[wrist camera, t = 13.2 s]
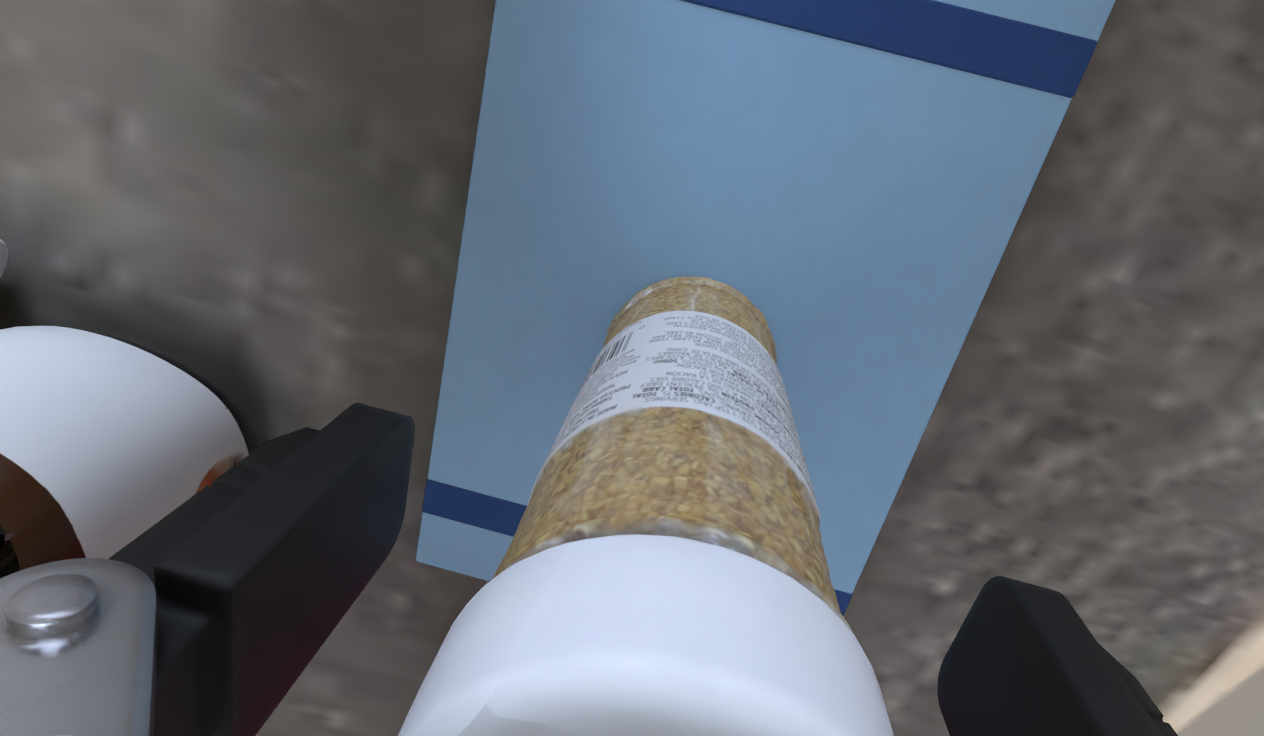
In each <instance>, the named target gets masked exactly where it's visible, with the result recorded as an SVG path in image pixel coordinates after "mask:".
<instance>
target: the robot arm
mask: <svg viewBox="0 0 1264 736" xmlns="http://www.w3.org/2000/svg"><path fill="white" fill-rule="evenodd" d="M413 441H414V422H413V419H412V418H411V417H410V416H406V415H402V414H398V413H395V412H391V411H387V410H383V409H380V408H376V407H372V406H368V405H365V404H361V403H355V404H353V405H351V406H350V407H349V408H348V409H346V410H345V411H344V412H343V413H341V414H340V415H339V416H338V417H336V418H335V419H334V420H333V421H332V422H330V423H329V424H328V425H327V426H325V427H324V428H323V429H322V430H320V431H319V430H315V429H311V428H308V427H305V428H303V429H300V430H297V431H294V432H291V433H289V434H286V435H283V436H280V437H277V438H275V439H272V440H269V441H267V442H265V443H264V444H263V445H261V446H260V447H259V448H257V449H256V450H255V451H253V452H252V453H250V454H249V455H248V456H246V457H245V458H244V459H242V460H241V461H240V462H238V465H237V467H236V468H234V467H232V468H230V469H229V470H227V471H226V472H225V473H223V474H222V475H221V476H219V477H218V478H217V479H215V480H214V481H213V484H212V486H211V487H209V486H206V487H204V488H203V489H202V490H200V491H199V492H198V493H196V494H195V495H194V496H192V497H191V498H190V499H188V500H187V501H186V502H184V503H183V504H182V505H180V506H179V507H177V508H176V509H175V510H173V511H172V512H171V513H169V514H168V515H167V516H165V517H164V518H163V519H161V520H160V521H159V522H157V523H156V524H154V525H153V526H152V527H150V528H149V529H148V530H146V531H145V532H144V533H142V534H141V535H140V536H138V537H137V538H136V539H134V540H133V541H131V542H130V543H129V544H127V545H126V546H125V547H123V548H122V549H121V550H119V551H118V552H117V553H115V554H114V555H113V556H111V557H110V558H109V559H101V558H78V559H67V560H61V561H55V562H49V563H45V564H41V565H37V566H33V567H30V568H27V569H24V570H21V571H18V572H15V573H12V574H10V575H8V576H5V577H3V578H1V579H0V736H255V735H256V734H257V733H258V731H259V730H260V728H261V727H262V726H263V724H264V723H265V722H266V720H267V719H268V718H269V716H270V715H271V714H272V712H273V711H274V709H275V708H276V707H277V705H278V704H279V703H280V701H281V700H282V699H283V697H284V696H285V695H286V693H287V692H288V691H289V689H290V688H291V686H292V685H293V684H294V682H295V681H296V680H297V678H298V677H299V676H300V674H301V673H302V672H303V670H304V669H305V667H306V666H307V665H308V663H309V662H310V661H311V659H312V658H313V657H314V655H315V654H316V653H317V651H318V650H319V649H320V647H321V646H322V644H323V643H324V642H325V640H326V639H327V638H328V636H329V635H330V634H331V632H332V631H333V630H334V628H335V627H336V625H337V624H338V623H339V621H340V620H341V619H342V617H343V616H344V615H345V613H346V612H347V611H348V609H349V608H350V606H351V605H352V604H353V602H354V601H355V600H356V598H357V597H358V596H359V594H360V593H361V592H362V590H363V589H364V588H365V586H366V585H367V583H368V582H369V581H370V579H371V578H372V577H373V575H374V574H375V573H376V571H377V570H378V569H379V567H380V566H381V564H382V563H383V562H384V560H385V559H386V558H387V556H388V555H389V553H390V551H391V550H392V548H393V546H394V544H395V542H396V539H397V537H398V534H399V532H400V529H401V526H402V522H403V518H404V513H405V507H406V498H407V490H408V482H409V474H410V465H411V457H412V449H413ZM938 700H939V705H940V709H941V712H942V715H943V718H944V720H945V723H946V726H947V729H948V731H949V734H950V736H1178V735H1177V734H1176V732H1175V731H1174V730H1173V728H1172V727H1171V726H1170V724H1169V723H1165V722H1163V720H1162V718H1163V715H1162V713H1161V712H1160V711H1159V709H1158V708H1157V706H1156V705H1155V704H1154V702H1153V701H1152V700H1151V698H1150V697H1149V695H1148V694H1147V693H1146V691H1145V690H1144V689H1143V687H1142V686H1141V684H1140V683H1139V682H1138V680H1137V679H1136V678H1135V677H1134V676H1133V675H1132V674H1131V673H1130V672H1129V671H1128V670H1127V669H1126V668H1125V667H1123V666H1122V665H1121V664H1120V663H1119V662H1118V661H1117V660H1116V659H1115V658H1114V657H1113V656H1112V655H1110V654H1109V653H1108V652H1107V651H1106V650H1105V649H1104V648H1103V647H1102V646H1101V645H1100V644H1099V643H1097V641H1096V640H1095V638H1094V637H1093V635H1092V634H1091V633H1090V631H1089V630H1088V628H1087V627H1086V626H1085V624H1084V623H1083V621H1082V620H1081V618H1080V617H1079V616H1078V614H1077V613H1076V611H1075V610H1074V609H1073V607H1072V606H1071V604H1070V603H1069V601H1068V600H1067V599H1066V598H1065V597H1064V596H1063V595H1062V594H1061V593H1059V592H1057V591H1055V590H1051V589H1047V588H1043V587H1040V586H1036V585H1032V584H1028V583H1025V582H1021V581H1017V580H1013V579H1010V578H1006V577H1002V576H996V577H993V578H991V579H990V580H989V581H987V583H986V584H985V585H984V586H983V588H982V590H981V591H980V593H979V595H978V597H977V599H976V600H975V602H974V604H973V606H972V608H971V610H970V611H969V613H968V615H967V617H966V619H965V621H964V623H963V624H962V626H961V628H960V630H959V632H958V634H957V635H956V637H955V639H954V641H953V643H952V645H951V646H950V648H949V650H948V652H947V654H946V656H945V658H944V660H943V662H942V665H941V668H940V672H939V678H938Z"/></svg>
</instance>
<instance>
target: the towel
mask: <svg viewBox="0 0 1264 736" xmlns="http://www.w3.org/2000/svg"><path fill="white" fill-rule="evenodd" d="M1114 3H1115V0H496V3H495V10H494V17H493V24H492V31H491V38H490V45H489V52H488V59H487V66H486V73H485V80H484V87H483V94H482V101H481V108H480V115H479V122H478V129H477V136H476V143H475V150H474V157H473V164H472V171H471V178H470V185H469V192H468V199H467V206H466V213H465V220H464V227H463V234H462V241H461V248H460V255H459V262H458V269H457V275H456V282H455V289H454V296H453V303H452V310H451V317H450V324H449V331H448V338H447V345H446V352H445V359H444V366H443V373H442V380H441V387H440V394H439V401H438V408H437V415H436V422H435V429H434V436H433V443H432V450H431V457H430V464H429V471H428V478H427V481H426V488H425V495H424V502H423V509H422V512H423V513H422V520H421V527H420V534H419V541H418V548H417V555H416V561H417V562H420V563H424V564H428V565H431V566H435V567H439V568H442V569H446V570H450V571H453V572H457V573H461V574H464V575H468V576H472V577H475V578H479V579H483V580H486V581H491V580H492V579H493V578H494V575H495V573H496V571H497V569H498V567H499V565H500V563H501V561H502V559H503V558H504V556H505V555H506V552H507V550H508V548H509V546H510V544H511V542H512V540H513V537H514V535H515V533H516V530H517V528H518V525H519V523H520V521H521V518H522V516H523V514H524V512H525V510H526V508H527V506H528V502H529V498H530V495H531V491H532V488H533V486H534V483H535V481H536V478H537V476H538V474H539V472H540V470H541V468H542V466H543V464H544V462H545V460H546V458H547V456H548V454H549V452H550V450H551V448H552V446H553V444H554V442H555V440H556V438H557V436H558V434H559V432H560V429H561V427H562V425H563V423H564V421H565V419H566V417H567V415H568V413H569V411H570V409H571V407H572V405H573V403H574V401H575V399H576V397H577V395H578V393H579V391H580V389H581V387H582V385H583V383H584V381H585V379H586V377H587V375H588V373H589V371H590V369H591V367H592V365H593V363H594V361H595V359H596V357H597V356H598V355H599V353H600V352H601V350H602V349H603V345H604V342H605V339H606V337H607V333H608V329H609V326H610V324H611V323H612V320H613V319H614V317H615V316H616V315H617V314H618V313H619V311H620V310H621V308H622V307H623V306H624V304H625V303H626V302H628V301H629V300H631V298H632V297H633V296H634V295H635V294H636V293H638V292H639V291H640V290H642V289H644V288H646V287H648V286H649V285H652V284H655V283H658V282H660V281H662V280H665V279H670V278H676V277H683V276H691V277H707V278H710V279H713V280H716V281H719V282H722V283H725V284H728V285H730V286H731V287H733V288H734V289H736V290H737V291H739V292H740V293H742V294H743V295H745V296H746V297H747V298H748V299H749V300H750V301H751V302H752V304H753V305H755V306H756V307H757V308H758V309H759V310H760V311H761V312H762V313H763V315H764V317H765V319H766V322H767V324H768V327H769V329H770V332H771V334H772V336H773V339H774V343H775V347H776V357H777V365H776V366H777V368H778V370H779V372H780V375H781V377H782V380H783V383H784V386H785V390H786V393H787V397H788V400H789V404H790V407H791V411H792V414H793V418H794V422H795V425H796V429H797V433H798V437H799V440H800V444H801V448H802V451H803V455H804V459H805V462H806V465H807V469H808V472H809V476H810V479H811V483H812V486H813V490H814V494H815V497H816V501H817V505H818V509H819V512H820V526H819V530H820V534H821V540H822V545H823V548H824V554H825V557H826V560H827V565H828V568H829V574H830V580H831V583H832V586H833V588H834V591H835V593H836V597H837V602H838V605H839V608H840V612H841V614H842V616H843V615H844V613H845V610H846V608H847V606H848V604H849V601H850V599H851V597H852V593H853V590H854V588H855V586H856V584H857V581H858V579H859V577H860V575H861V572H862V570H863V568H864V566H865V563H866V561H867V559H868V557H869V554H870V552H871V550H872V548H873V545H874V543H875V541H876V539H877V536H878V534H879V532H880V530H881V527H882V525H883V523H884V521H885V518H886V516H887V514H888V512H889V509H890V507H891V505H892V503H893V500H894V498H895V496H896V494H897V491H898V489H899V487H900V485H901V482H902V480H903V478H904V476H905V473H906V471H907V469H908V467H909V464H910V462H911V460H912V458H913V455H914V453H915V451H916V449H917V446H918V444H919V442H920V440H921V437H922V435H923V433H924V431H925V428H926V426H927V424H928V422H929V419H930V417H931V415H932V412H933V410H934V408H935V406H936V403H937V401H938V399H939V397H940V394H941V392H942V390H943V388H944V385H945V383H946V381H947V379H948V376H949V374H950V372H951V370H952V367H953V365H954V363H955V361H956V358H957V356H958V354H959V352H960V349H961V347H962V345H963V343H964V340H965V338H966V336H967V334H968V331H969V329H970V327H971V325H972V322H973V320H974V318H975V316H976V313H977V311H978V309H979V307H980V304H981V302H982V300H983V298H984V295H985V293H986V291H987V289H988V286H989V284H990V282H991V280H992V277H993V275H994V273H995V271H996V268H997V266H998V264H999V262H1000V259H1001V257H1002V255H1003V253H1004V250H1005V248H1006V246H1007V244H1008V241H1009V239H1010V237H1011V235H1012V232H1013V230H1014V228H1015V226H1016V223H1017V221H1018V219H1019V217H1020V214H1021V212H1022V210H1023V208H1024V205H1025V203H1026V201H1027V199H1028V196H1029V194H1030V192H1031V190H1032V187H1033V185H1034V183H1035V181H1036V178H1037V176H1038V174H1039V172H1040V169H1041V167H1042V165H1043V163H1044V160H1045V158H1046V156H1047V154H1048V151H1049V149H1050V147H1051V145H1052V142H1053V140H1054V138H1055V136H1056V133H1057V131H1058V129H1059V127H1060V124H1061V122H1062V120H1063V118H1064V115H1065V113H1066V111H1067V109H1068V106H1069V104H1070V102H1071V99H1072V97H1073V96H1074V94H1075V92H1076V90H1077V88H1078V85H1079V83H1080V81H1081V79H1082V76H1083V74H1084V72H1085V70H1086V67H1087V65H1088V63H1089V61H1090V58H1091V56H1092V54H1093V52H1094V49H1095V47H1096V45H1097V41H1098V39H1099V36H1100V34H1101V32H1102V30H1103V27H1104V25H1105V23H1106V21H1107V18H1108V16H1109V14H1110V12H1111V9H1112V7H1113V5H1114Z"/></svg>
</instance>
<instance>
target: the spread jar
mask: <svg viewBox="0 0 1264 736" xmlns="http://www.w3.org/2000/svg"><path fill="white" fill-rule="evenodd" d="M8 257H9V253H8V246H7V245H6V244H5V243H4V241H2V240H0V279H1V276H2V274H3V272H4V270H5V268H6V264H7V261H8ZM257 448H259V447H258V444H257V441H256V439H255V436H254V434H253V431H252V430H251V428H250V426H249V424H248V422H247V420H246V419H245V417H244V416H243V414H242V413H241V411H240V410H239V409H238V407H237V406H236V405H235V404H234V403H233V402H232V400H231V399H230V398H229V397H227V396H226V395H225V394H224V393H223V392H222V391H221V390H220V389H219V388H217V387H216V386H215V385H214V384H213V383H211V382H210V381H209V380H207V379H206V378H204V377H203V376H201V375H200V374H198V373H197V372H195V371H194V370H192V369H190V368H189V367H187V366H185V365H184V364H182V363H180V362H178V361H176V360H174V359H172V358H170V357H168V356H166V355H164V354H161V353H159V352H157V351H154V350H152V349H149V348H147V347H144V346H142V345H139V344H136V343H134V342H131V341H128V340H124V339H121V338H117V337H114V336H109V335H105V334H100V333H95V332H89V331H84V330H78V329H73V328H66V327H59V326H19V327H12V328H6V329H0V579H1V578H3V577H5V576H8V575H10V574H12V573H15V572H18V571H21V570H24V569H27V568H30V567H33V566H37V565H41V564H45V563H49V562H55V561H61V560H67V559H78V558H101V559H109V558H110V557H111V556H113V555H114V554H115V553H117V552H118V551H119V550H121V549H122V548H123V547H125V546H126V545H127V544H129V543H130V542H131V541H133V540H134V539H136V538H137V537H138V536H140V535H141V534H142V533H144V532H145V531H146V530H148V529H149V528H150V527H152V526H153V525H154V524H156V523H157V522H159V521H160V520H161V519H163V518H164V517H165V516H167V515H168V514H169V513H171V512H172V511H173V510H175V509H176V508H177V507H179V506H180V505H182V504H183V503H184V502H186V501H187V500H188V499H190V498H191V497H192V496H194V495H195V494H196V493H198V492H199V491H200V490H202V489H203V488H204V487H206V486H209V487H211V486H212V484H213V481H214V480H215V479H217V478H218V477H219V476H221V475H222V474H223V473H225V472H226V471H227V470H229V469H230V468H232V467H234V468H236V467H237V465H238V462H240V461H241V460H242V459H244V458H245V457H246V456H248V455H249V454H250V453H252V452H253V451H255V450H256V449H257Z"/></svg>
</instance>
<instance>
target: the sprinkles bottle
mask: <svg viewBox="0 0 1264 736" xmlns="http://www.w3.org/2000/svg"><path fill="white" fill-rule="evenodd" d="M776 365H777V357H776V347H775V343H774V339H773V336H772V334H771V332H770V329H769V327H768V324H767V322H766V319H765V317H764V315H763V313H762V312H761V311H760V310H759V309H758V308H757V307H756V306H755V305H753V304H752V302H751V301H750V300H749V299H748V298H747V297H746V296H745V295H743V294H742V293H740V292H739V291H737V290H736V289H734V288H733V287H731V286H730V285H728V284H725V283H722V282H719V281H716V280H713V279H710V278H707V277H691V276H683V277H676V278H670V279H665V280H662V281H660V282H658V283H655V284H652V285H649V286H648V287H646V288H644V289H642V290H640V291H639V292H638V293H636V294H635V295H634V296H633V297H632V298H631V300H629V301H628V302H626V303H625V304H624V306H623V307H622V308H621V310H620V311H619V313H618V314H617V315H616V316H615V317H614V319H613V320H612V323H611V324H610V326H609V329H608V333H607V337H606V339H605V342H604V345H603V349H602V350H601V352H600V353H599V355H598V356H597V357H596V359H595V361H594V363H593V365H592V367H591V369H590V371H589V373H588V375H587V377H586V379H585V381H584V383H583V385H582V387H581V389H580V391H579V393H578V395H577V397H576V399H575V401H574V403H573V405H572V407H571V409H570V411H569V413H568V415H567V417H566V419H565V421H564V423H563V425H562V427H561V429H560V432H559V434H558V436H557V438H556V440H555V442H554V444H553V446H552V448H551V450H550V452H549V454H548V456H547V458H546V460H545V462H544V464H543V466H542V468H541V470H540V472H539V474H538V476H537V478H536V481H535V483H534V486H533V488H532V491H531V495H530V498H529V502H528V506H527V508H526V510H525V512H524V514H523V516H522V518H521V521H520V523H519V525H518V528H517V530H516V533H515V535H514V537H513V540H512V542H511V544H510V546H509V548H508V550H507V552H506V555H505V556H504V558H503V559H502V561H501V563H500V565H499V567H498V569H497V571H496V573H495V575H494V578H493V579H492V580H491V581H490V582H488V583H487V584H486V585H484V586H483V587H482V588H481V589H480V591H479V592H478V593H477V594H476V595H475V596H474V597H473V598H472V599H471V600H470V601H469V602H468V603H467V604H466V606H465V607H464V609H463V610H462V611H461V613H460V614H459V615H458V617H457V618H456V619H455V621H454V622H453V624H452V626H451V628H450V630H449V632H448V634H447V636H446V638H445V640H444V641H443V643H442V645H441V647H440V649H439V651H438V653H437V655H436V657H435V659H434V661H433V663H432V665H431V667H430V669H429V671H428V673H427V675H426V677H425V679H424V681H423V683H422V685H421V687H420V689H419V691H418V693H417V695H416V697H415V700H414V702H413V704H412V706H411V708H410V710H409V712H408V714H407V717H406V719H405V721H404V723H403V725H402V728H401V730H400V732H399V734H398V736H894V735H893V731H892V728H891V724H890V721H889V717H888V714H887V710H886V707H885V703H884V700H883V697H882V693H881V690H880V686H879V684H878V681H877V678H876V676H875V673H874V671H873V668H872V666H871V664H870V662H869V660H868V658H867V656H866V655H865V653H864V651H863V649H862V647H861V646H860V644H859V642H858V640H857V638H856V637H855V636H854V634H853V631H852V629H851V627H850V626H849V624H848V623H847V621H846V620H845V619H844V617H843V616H842V614H841V612H840V608H839V605H838V602H837V597H836V593H835V591H834V588H833V586H832V583H831V580H830V574H829V568H828V565H827V560H826V557H825V554H824V548H823V545H822V540H821V534H820V530H819V526H820V512H819V509H818V505H817V501H816V497H815V494H814V490H813V486H812V483H811V479H810V476H809V472H808V469H807V465H806V462H805V459H804V455H803V451H802V448H801V444H800V440H799V437H798V433H797V429H796V425H795V422H794V418H793V414H792V411H791V407H790V404H789V400H788V397H787V393H786V390H785V386H784V383H783V380H782V377H781V375H780V372H779V370H778V368H777V366H776Z"/></svg>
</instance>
